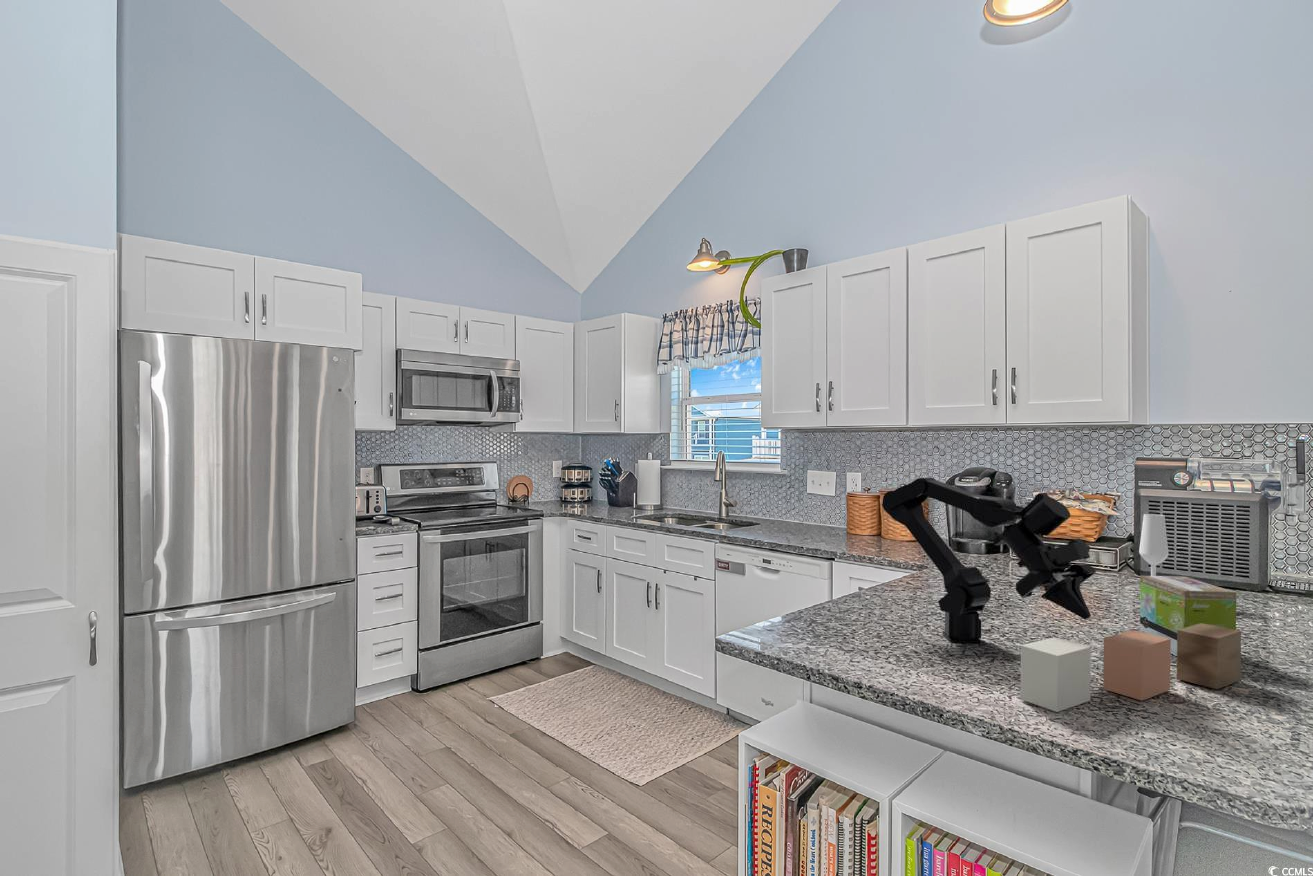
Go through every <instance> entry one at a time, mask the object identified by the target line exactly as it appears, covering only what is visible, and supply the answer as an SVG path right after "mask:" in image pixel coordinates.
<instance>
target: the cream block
mask: <svg viewBox="0 0 1313 876" xmlns="http://www.w3.org/2000/svg"><path fill="white" fill-rule="evenodd" d="M1091 655H1092V646H1089V645H1085V644H1081V643H1077V642H1074V641H1070V640H1065V639H1063V638H1062V639H1061V638H1059V637H1051V638H1046V639H1043V640H1038V641H1034V642H1031V643H1030V642H1029V643H1026V644H1021V645H1020V684H1019V685H1020V686H1019V687H1020V690H1019V691H1020V692H1019V693H1020V694H1019V695H1020V696H1019V697H1020V699H1019V700H1022V701H1025V702H1027V703H1030V704H1034V705H1036V706H1039V707H1042V708H1044V709H1047V710H1050V711H1053V712H1057V713H1058V712H1061V711H1064V710H1067V709H1070V708H1073V707H1075V706H1079V705H1081V704H1084V703H1088V702H1089V701H1091V674H1092V672H1091V662H1092V660H1091V657H1092V656H1091Z"/></svg>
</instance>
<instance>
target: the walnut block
mask: <svg viewBox="0 0 1313 876" xmlns="http://www.w3.org/2000/svg"><path fill="white" fill-rule="evenodd" d="M1241 656H1242V631H1241V630H1237V629H1236V630H1233V629H1228V628H1223V627H1218V626H1213V625H1208V624H1203V623H1200V624H1197V625H1193V626H1190V627H1186V628H1182V629H1179V630H1177V657H1176V679H1178V680H1181V681H1184V682H1188V683H1192V684H1196V685H1199V686H1203V687H1206V688H1211V689H1214V690H1219V689H1222V688H1224V687H1226V686H1229V685H1231V684H1234V683H1237V682H1239V681H1241V678H1242V677H1241V675H1242V674H1241V673H1242V672H1241V671H1242V670H1241V669H1242V668H1241V667H1242V660H1241V659H1242V657H1241Z"/></svg>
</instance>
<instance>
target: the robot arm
mask: <svg viewBox="0 0 1313 876" xmlns="http://www.w3.org/2000/svg"><path fill="white" fill-rule="evenodd" d="M929 498H930V499H933V500H935V501H938V502H941V503H944V504H946V505H949V506H952V507H954V508H957V509H958V510H962V511H963V512H966V513H968V514H969V515H970V516H971V517H972V518H973V519H974V520H975V521H977V522H979V523H981V524H982V525H984V526H985V527H988V528H989V527H990V528H997V527H1005V528H1004V529H1003V530H1002V531H995V532H994V533H993V534H994V537H993V539H992V540H993V541H992V545H993V546H1000V545H1001V546H1002V545H1006V546H1007V547H1008V548H1009V549H1010V551H1012V553H1013V554H1014V556H1016V557H1017V559H1018V560H1019V561H1018V562H1017V563H1016V564H1017V566H1018V567H1019V568H1026V570H1027V571H1028V573H1027V574H1025V575H1024V576H1023V577H1022V578H1020V579H1019V580H1018V581H1017V582H1015V591H1016V593H1017V594H1018V595H1019V596H1020V597H1021V599H1024V598H1025V599H1026V598H1030V597H1031V596H1033V591H1035V590H1036V588H1040V587H1041V588H1042V587H1043V590H1044V593H1043V594H1042V595H1041V596H1040V597H1041V598H1042V599H1045V600H1047V601H1050V602H1052V603H1053V604H1056V605H1058V606H1059V607H1062V608H1063V609H1065V610H1067V611H1069V612H1070V613H1072V614H1074V615H1076V616H1078V617H1079V618H1082V619H1083V620H1088V619H1089V618H1091V617H1092V614H1091V612H1090V610H1089V607H1088V606H1087V604H1086V601H1085V598H1084V596H1083V594H1082V591H1081V588H1080V586H1081V584H1083V583H1084V582H1086V581H1087V580H1088V579H1089V578H1091V577H1092V576H1094V574H1096V572H1097V571H1096V570H1095V569H1094V568H1093V567H1092V565H1091V564H1090V563H1086V562H1079V563H1073V564H1072V562H1075V561H1078V560H1079V561H1080V560H1087V559H1090V558H1091V556H1090V550H1091V546H1090V545H1088V544H1087V543H1086V541H1083V540H1082V539H1081V538H1074V539H1073V540H1068V541H1067V544H1063V545H1060V546H1057V547H1055V546H1054V545H1052V544H1045V543H1044V541H1043V540H1042V539H1041V537H1039V536H1040V535H1041V536H1046V537H1047V536H1050V535H1051V534H1052V533H1053V532H1055V530H1057V529H1058V528H1059V527H1060V526H1061V525H1063V524H1064V523H1065V522H1067V521H1068V519H1070V518H1071V513H1070V512H1071V511H1070V510H1069V509H1068V508H1067V506H1066V505H1065V504H1064V503H1061V502H1060V501H1058V500H1057V499H1055V498H1054V497H1052V496H1049V495H1048V493H1046V492H1039V493H1037V494H1036V495H1035V497H1033V500H1031V501H1030V502H1029V503H1028V504H1027V505H1026V506H1025V507H1024V506H1021V505H1017V503H1016V502H1015V501H1013V499H1012V500H1011V499H1010V498H1003V497H997V496H990V495H981V494H977V493H974V492H971V491H968V490H965V489H962V488H959V487H956V486H953V485H952V484H951V485H950V484H948V483H945V482H943V481H940V480H937V479H935V478H934V477H927V476H926V477H918V478H916V479H914V480H913V481H911V482H910V483H907V484H904V485H903V486H901V487H898V488H896V489H893V490H888V491H886V492H885V493H884V495H883V497H882V503H881V507H882V508H883V510H884V512H885V513H886V514H888V515H889V517H891V518H892V519H893V520H895V522H898V523H899V524H901V525H903V526H904V527H905V528H906V529H907V530H908V531H909V533H910V535H912V538H914V539H915V541H916V542H917V543H918V545H919V546H920V547H921V549H922V550H923V552H924V553H925V554H926V555H927V557H928V558H929V559H930V560H931V562H932V563H933V564H934V566H935V567H936V568H937V570H938V571H939V572H940V574H941V575H942V578H943V585H944V590H945V591H946V594H945V595H944V596H942V598H940V599H939V600H938V606H939V608H940V611H942V612H943V613H944V631H942V633H941V634H942V635H943V636H944V637H945V638H946V639H947V640H948V641H950V642H951V643H952V642H953V643H968V644H982V640H981V638H982V619H980V613H979V612H983V611H984V609H985V607H986V605H987V604H988V603H989V601H990V599H991V596H992V595H991V593H992V589H991V587H990V585H989V584H988V583H989V582H990V581H989V580H988V579H987V578H985V577H984V575H983V574H982V573H981V571H980V569H979V568H978V567H977V566H971V567H967V566H966V565H964V564H963V563H962V562H961V561H960V560H959V558H958V557H957V556H956V555H955V554H954V552H953V551H952V550H951V549H950V547H949V546H948V545H947V543H946V542H945V541H944V540H943V538H942V537H941V536H940V535H939V533H938V532H937V531H936V530H935V528H934V526H933V525H931V523H930V522H929V521H928V519H927V518H926V515H925V513H924V505H923V503H925V502H926V501H927V500H928V499H929ZM1018 520H1019V521H1018ZM1016 522H1017V523H1016Z"/></svg>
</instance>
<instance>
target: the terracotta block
mask: <svg viewBox="0 0 1313 876" xmlns="http://www.w3.org/2000/svg"><path fill="white" fill-rule="evenodd" d="M1170 648H1171V639H1168V638H1164V637H1159V636H1155V635H1151V634H1146V633H1142V632H1140V631H1137V630H1134V629H1133V630H1131V629H1130V630H1129V631H1125V632H1121V633H1116V634H1111V635H1108V636H1105V637H1103V670H1102V671H1103V675H1102V679H1103V681H1102V683H1103V684H1102V685H1103V687H1102V689H1103V690H1106V691H1109V692H1113V693H1115V694H1119V695H1123V696H1126V697H1129V698H1132V699H1135V700H1138V701H1145V700H1147V699H1150V698H1153V697H1155V696H1158V695H1160V694H1161V695H1162V694H1164V693H1166V692H1169V691H1171V654H1170Z"/></svg>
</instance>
